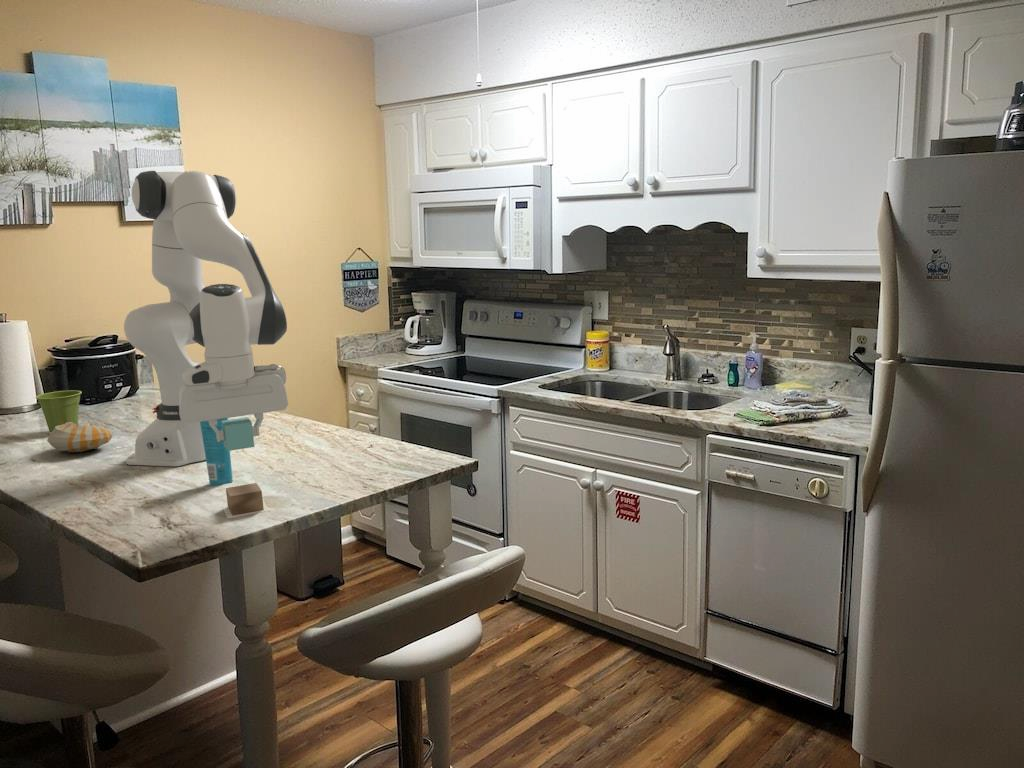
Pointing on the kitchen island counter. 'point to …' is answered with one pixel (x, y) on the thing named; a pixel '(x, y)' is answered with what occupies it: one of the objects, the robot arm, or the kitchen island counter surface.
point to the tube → (216, 455)
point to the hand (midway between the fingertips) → (238, 438)
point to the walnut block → (244, 499)
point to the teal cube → (238, 433)
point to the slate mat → (245, 513)
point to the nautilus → (78, 437)
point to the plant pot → (60, 407)
